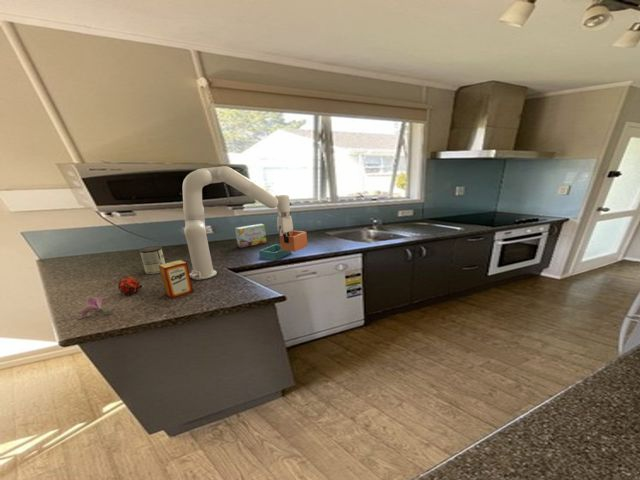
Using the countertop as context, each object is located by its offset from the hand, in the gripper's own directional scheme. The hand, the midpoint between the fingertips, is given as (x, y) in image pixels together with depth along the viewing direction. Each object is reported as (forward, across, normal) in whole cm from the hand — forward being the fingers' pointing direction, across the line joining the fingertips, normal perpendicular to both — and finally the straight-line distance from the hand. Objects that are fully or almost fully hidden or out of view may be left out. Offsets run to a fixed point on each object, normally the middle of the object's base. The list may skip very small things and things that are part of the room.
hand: (287, 242), depth 184 cm
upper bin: (+6, -7, 0) cm, 9 cm away
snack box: (+14, -22, -52) cm, 58 cm away
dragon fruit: (+13, +66, -44) cm, 81 cm away
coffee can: (+13, +42, -63) cm, 77 cm away
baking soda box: (+13, +58, -21) cm, 64 cm away
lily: (+13, +86, -33) cm, 93 cm away
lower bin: (+13, -6, -16) cm, 22 cm away
